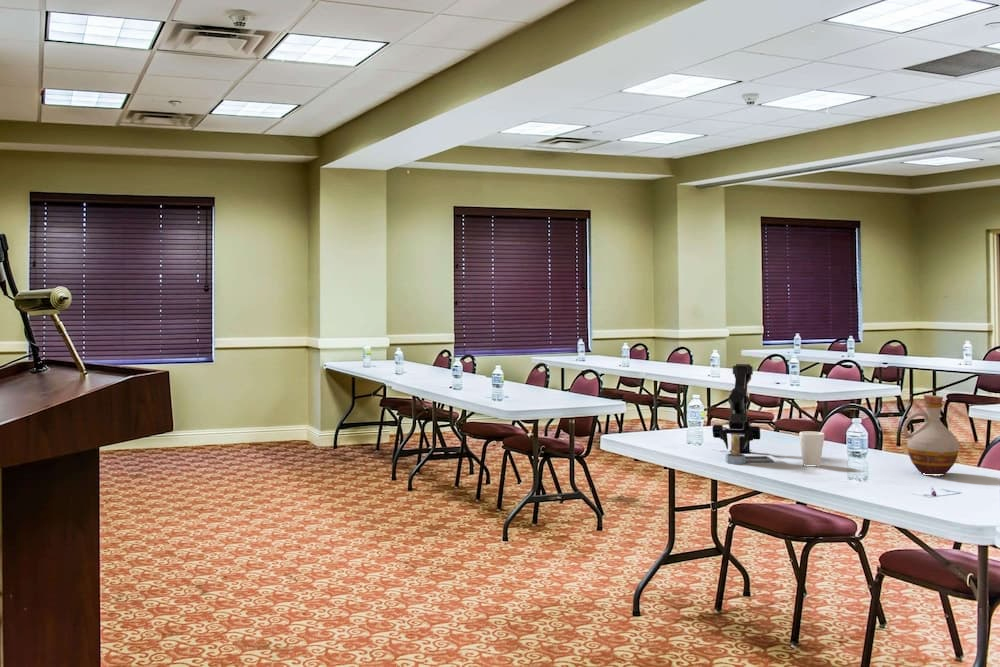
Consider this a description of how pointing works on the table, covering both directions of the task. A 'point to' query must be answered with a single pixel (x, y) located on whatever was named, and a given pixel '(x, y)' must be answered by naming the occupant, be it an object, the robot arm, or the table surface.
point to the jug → (931, 440)
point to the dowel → (735, 445)
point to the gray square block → (735, 459)
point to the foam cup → (811, 447)
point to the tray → (758, 459)
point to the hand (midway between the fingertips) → (735, 448)
